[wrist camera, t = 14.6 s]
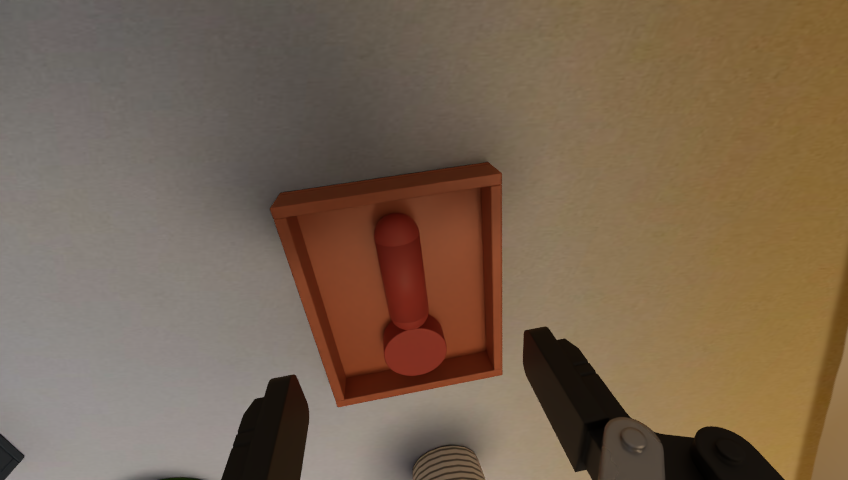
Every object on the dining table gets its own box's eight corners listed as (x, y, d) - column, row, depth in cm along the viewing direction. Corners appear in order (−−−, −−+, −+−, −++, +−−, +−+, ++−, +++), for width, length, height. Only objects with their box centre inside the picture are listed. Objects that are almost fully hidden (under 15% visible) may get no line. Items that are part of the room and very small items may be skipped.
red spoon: (355, 211, 19) (353, 230, 17) (428, 200, 19) (435, 217, 17) (388, 362, 24) (389, 391, 22) (444, 351, 24) (451, 379, 22)
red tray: (279, 192, 18) (269, 208, 16) (488, 161, 19) (502, 173, 17) (339, 380, 25) (337, 407, 23) (492, 351, 26) (502, 375, 24)
